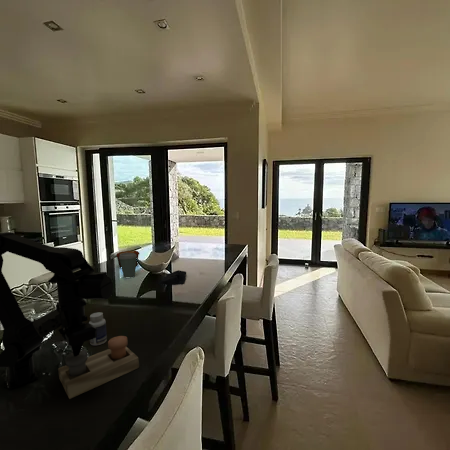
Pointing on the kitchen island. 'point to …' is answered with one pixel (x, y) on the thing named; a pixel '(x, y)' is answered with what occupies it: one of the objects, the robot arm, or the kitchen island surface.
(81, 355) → the plug
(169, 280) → the dark slate chunk
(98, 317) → the pill bottle
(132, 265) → the disposable coffee cup
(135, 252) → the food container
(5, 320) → the robot arm
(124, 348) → the terracotta plug
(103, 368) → the plug board
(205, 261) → the kitchen island surface
